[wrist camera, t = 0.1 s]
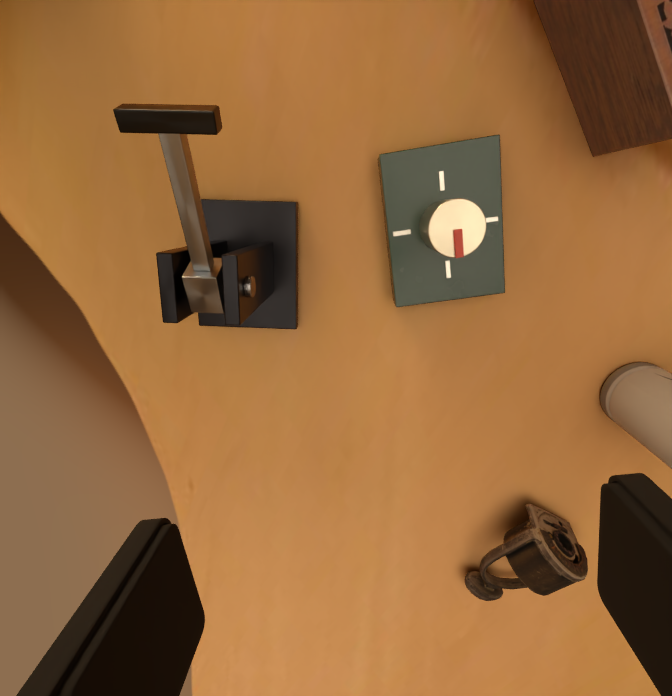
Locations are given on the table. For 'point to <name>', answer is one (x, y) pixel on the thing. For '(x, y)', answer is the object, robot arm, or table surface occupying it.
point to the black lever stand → (242, 265)
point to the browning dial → (453, 227)
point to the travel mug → (642, 405)
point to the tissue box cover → (614, 67)
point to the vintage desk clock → (533, 558)
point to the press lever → (184, 188)
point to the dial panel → (424, 190)
